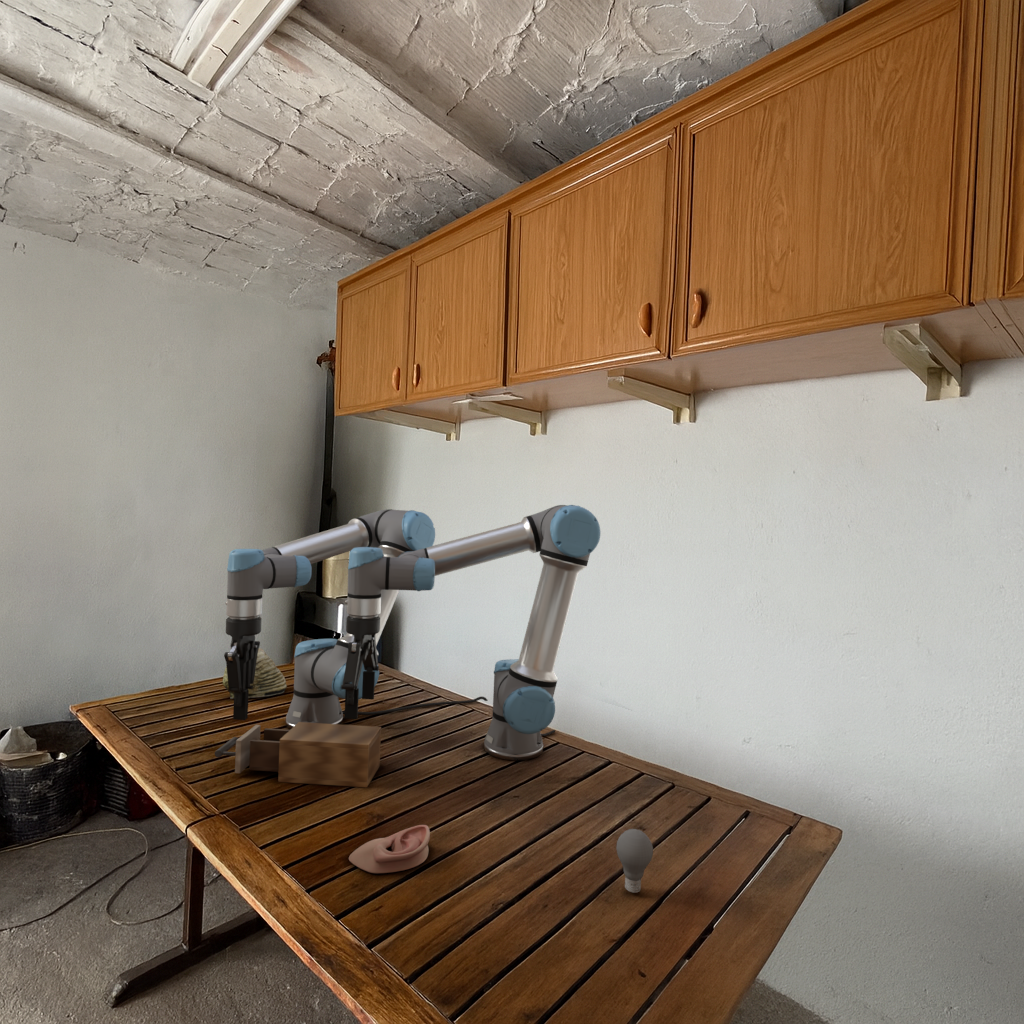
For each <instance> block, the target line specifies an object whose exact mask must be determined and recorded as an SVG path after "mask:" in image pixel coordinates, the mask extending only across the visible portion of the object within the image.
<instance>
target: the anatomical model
mask: <svg viewBox="0 0 1024 1024" xmlns="http://www.w3.org/2000/svg"><path fill="white" fill-rule="evenodd" d="M430 838H431V830H430V827H429V826H428V825H427V824H419V825H413V826H411V827H409V828H405V829H403V830H400V831H398V832H396V833H393V834H391V835H389V836H386V837H379V838H375V839H372V840H369V841H367V842H365V843H364V844H362V845H360V846H358V848H356V849H355V850H353V852H352V853H350V855H349V857H348V860H349V862H350V863H351V864H352V865H354V866H356V867H357V868H358V869H361V870H363V871H365V872H367V873H369V874H370V873H371V874H387V873H388V874H389V873H396V872H401V871H405V870H409V869H412V868H415V867H418V866H419V865H421V864H422V863H425V861H426V860H427V859H428V856H429V842H430Z"/></svg>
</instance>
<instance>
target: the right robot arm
mask: <svg viewBox="0 0 1024 1024" xmlns="http://www.w3.org/2000/svg"><path fill="white" fill-rule="evenodd" d="M601 532H602V531H601V526H600V522H599V521H598V518H597V517H596V515H595V514H594V513H593V512H592V511H590V509H587V508H585V507H582V506H580V505H576V504H575V505H574V504H567V505H566V504H558V505H555V506H551V507H549V508H546V509H545V510H542V511H538V512H537V513H534V514H530V515H526V516H524V517H523V518H522V520H521V521H520V522H519V521H518V522H516V523H511V524H508V525H504V526H501V527H497V528H493V529H490V530H487V531H483V532H479V533H476V534H471V535H467V536H464V537H460V538H456V539H454V540H453V539H452V540H449V541H446V542H442V543H438V544H435V545H434V544H433V546H430V547H427V548H424V549H420V550H416V551H407V552H404V553H402V554H401V555H399V556H398V557H385V556H384V555H383V550H382V549H381V548H373V547H356V548H353V549H352V550H351V551H349V555H348V556H349V557H348V567H347V599H345V600H344V604H345V605H347V606H346V614H347V616H346V618H345V621H346V622H345V632H346V634H347V633H349V634H352V635H354V641H353V642H349V644H348V656H347V662H346V667H345V673H344V679H343V685H341V689H346V690H345V699H344V712H345V715H343V720H344V719H345V720H346V719H347V720H357V719H358V718H359V715H358V712H359V699H358V697H359V688H357V687H358V682H359V678H360V673H361V669H362V665H364V669H365V670H366V671H363V685H362V698H361V699H362V700H373V701H374V699H375V687H376V685H375V672H374V671H380V666H379V660H378V658H377V651H378V649H377V645H376V640H375V636H376V634H377V633H378V632H379V631H380V617H379V616H378V615H379V614H380V613H381V590H399V591H414V592H415V591H416V592H423V591H432V590H433V589H434V587H435V581H436V580H435V578H436V576H440V575H444V574H448V573H451V572H455V571H459V570H463V569H466V568H470V567H473V566H476V565H481V564H484V563H488V562H491V561H495V560H498V559H499V560H500V559H502V558H507V557H510V556H513V555H517V554H520V553H521V554H522V553H524V552H528V551H529V552H530V553H532V554H536V553H539V557H540V558H541V562H542V563H543V564H542V568H541V571H540V576H539V580H538V584H537V587H536V590H535V594H534V595H535V596H534V599H533V604H532V607H531V610H530V615H529V618H528V622H527V626H526V630H525V634H524V638H523V642H522V645H521V649H520V654H519V657H518V658H509V659H500V660H497V661H496V662H495V664H494V670H493V675H494V676H493V700H492V716H491V717H492V718H491V721H490V724H489V727H488V729H487V731H486V734H485V737H484V741H483V749H484V751H485V752H486V753H487V754H488V755H490V756H492V757H494V758H496V759H500V760H505V761H527V760H531V759H535V758H537V757H540V756H541V755H542V753H543V752H544V740H543V737H548V736H551V735H552V734H555V733H556V729H553V730H550V731H548V732H546V733H541V732H543V730H546V729H547V727H549V726H550V724H551V723H552V721H553V720H554V717H555V714H556V701H555V699H554V696H555V692H556V687H557V684H558V679H559V678H558V676H557V675H556V672H555V665H556V661H557V657H558V654H559V649H560V646H561V642H562V638H563V634H564V631H565V627H566V622H567V619H568V615H569V612H570V608H571V603H572V599H573V596H574V593H575V588H576V585H577V581H578V576H579V574H580V572H581V571H583V570H584V569H587V568H588V563H589V559H590V555H591V553H592V552H594V550H595V549H596V548H597V547H598V545H599V542H600V539H601ZM376 649H377V650H376ZM377 665H378V666H377ZM350 682H351V683H350ZM374 686H375V687H374Z"/></svg>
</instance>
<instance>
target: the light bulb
mask: <svg viewBox="0 0 1024 1024" xmlns="http://www.w3.org/2000/svg"><path fill="white" fill-rule="evenodd" d="M615 849H616V854H617V857H618V859H619V861H620V863H621V865H622V867H623V873H624V874H623V875H624V876H625V878H624V888H625V890H627V891H628V892H630V893H634V894H635V893H639V892H640V891H641V889H642V887H641V886H642V879H643V877H644V875H645V871H646V868H647V867H648V866H649V864H650V863H651V861H652V859H653V855H654V847H653V843H652V841H651V838H649V836H648V835H647V834H646V833H645V832H643V831H642V830H641V829H636V828H629V829H627V830H625V831H623V832H622V833H621V834H620V835H619V837H618V839H617V841H616V847H615Z"/></svg>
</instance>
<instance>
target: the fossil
mask: <svg viewBox="0 0 1024 1024" xmlns="http://www.w3.org/2000/svg"><path fill="white" fill-rule="evenodd" d="M222 676H223V677H222V685H223V687H224V688H225V690H226V691H228V693H229V698H230V699H234V692H230V691H229V687H228V676H227V665H226V666H225V668H224V671H223V675H222ZM250 686H253V689H248V690H249V693H248V699H250V698H264V697H271V696H275V695H281V694H284V693H285V691H286V689H287V687H288V686H287V680H286V678H285V676H284V674H283V673H282V672H281V669H279V668H278V667H277V665H276V663H275V662H274V660H273V659H272V658H271V657H270V656H269V655H268V654H267V653H266V652H265V650H264V649H263V648H260V647H259V649H258V654H257V662H256V669H255V676H254V683H253V684H250Z"/></svg>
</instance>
